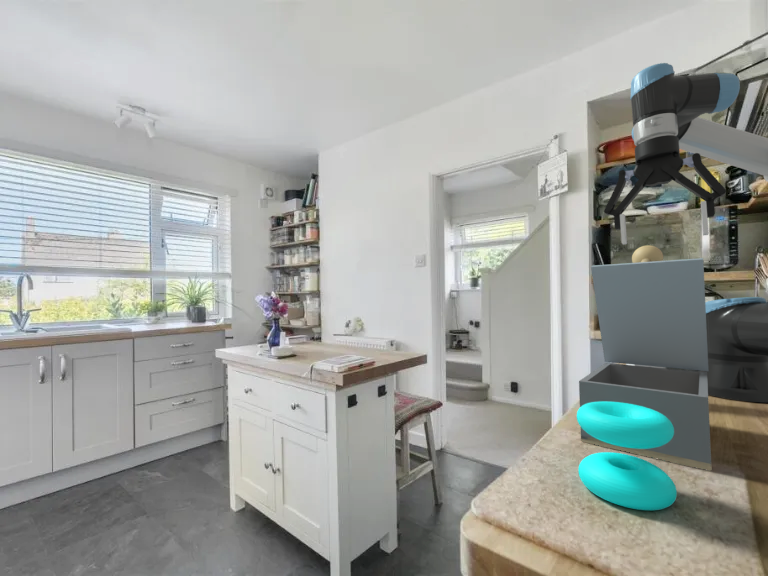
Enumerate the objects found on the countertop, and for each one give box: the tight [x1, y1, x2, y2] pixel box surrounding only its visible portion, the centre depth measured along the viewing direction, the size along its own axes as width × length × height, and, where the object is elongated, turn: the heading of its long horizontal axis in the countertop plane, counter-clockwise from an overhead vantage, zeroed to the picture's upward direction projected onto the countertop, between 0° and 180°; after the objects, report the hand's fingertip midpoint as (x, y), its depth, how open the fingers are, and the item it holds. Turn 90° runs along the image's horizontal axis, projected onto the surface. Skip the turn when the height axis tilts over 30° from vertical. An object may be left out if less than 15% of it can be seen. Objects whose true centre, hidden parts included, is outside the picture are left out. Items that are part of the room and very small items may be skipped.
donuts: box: [576, 401, 678, 511], centre depth 44 cm, size 10×10×10 cm
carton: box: [578, 362, 713, 471], centre depth 62 cm, size 22×16×10 cm
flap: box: [590, 244, 708, 371], centre depth 71 cm, size 22×16×10 cm
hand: (662, 239), depth 75 cm, fingers open, 13 cm apart
